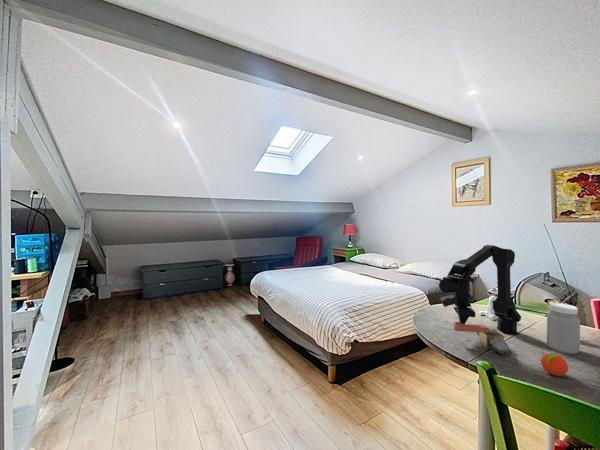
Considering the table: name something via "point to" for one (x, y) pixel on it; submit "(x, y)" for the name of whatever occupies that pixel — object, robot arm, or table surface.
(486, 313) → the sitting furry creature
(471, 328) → the lever
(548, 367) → the clementine
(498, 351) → the pipe valve
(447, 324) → the table surface
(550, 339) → the jar
